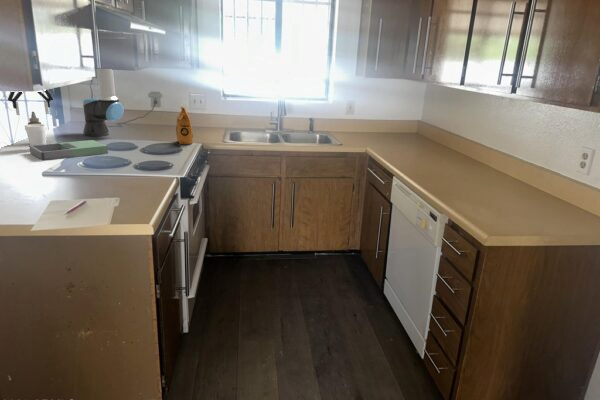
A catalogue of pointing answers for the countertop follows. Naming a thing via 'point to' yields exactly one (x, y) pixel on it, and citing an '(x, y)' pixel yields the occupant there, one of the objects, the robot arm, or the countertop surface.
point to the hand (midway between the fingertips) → (33, 114)
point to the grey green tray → (68, 149)
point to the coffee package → (184, 128)
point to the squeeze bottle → (34, 119)
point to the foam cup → (36, 134)
